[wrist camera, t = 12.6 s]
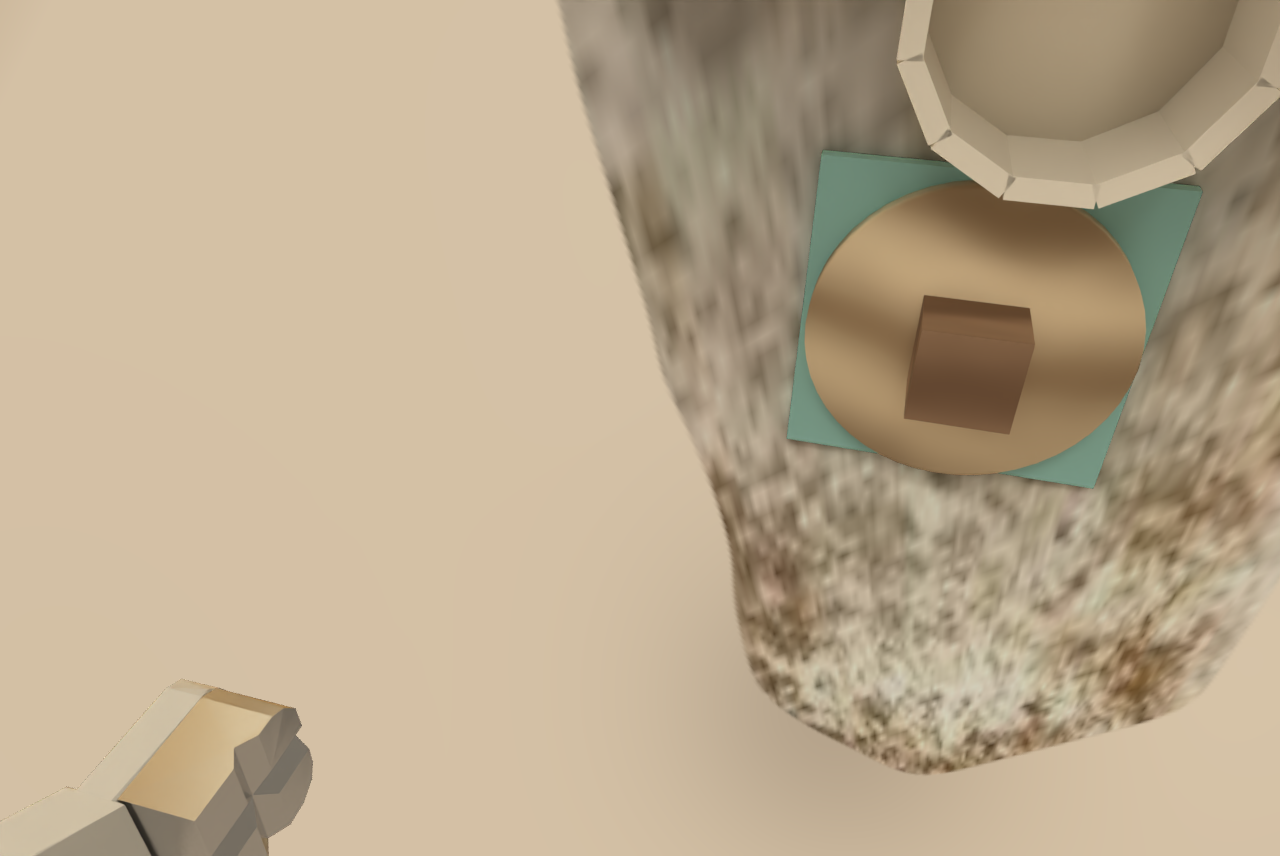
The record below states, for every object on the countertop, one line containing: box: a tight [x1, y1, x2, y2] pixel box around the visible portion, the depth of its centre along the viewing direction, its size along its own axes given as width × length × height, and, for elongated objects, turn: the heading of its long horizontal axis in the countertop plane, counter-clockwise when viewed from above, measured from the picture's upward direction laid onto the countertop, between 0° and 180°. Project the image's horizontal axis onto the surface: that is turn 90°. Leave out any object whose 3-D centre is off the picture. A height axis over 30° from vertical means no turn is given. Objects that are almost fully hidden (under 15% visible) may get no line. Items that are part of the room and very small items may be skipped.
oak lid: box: [805, 180, 1146, 475], centre depth 37 cm, size 13×13×4 cm
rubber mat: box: [787, 150, 1203, 489], centre depth 39 cm, size 14×14×1 cm
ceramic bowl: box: [896, 0, 1280, 209], centre depth 29 cm, size 11×11×6 cm
